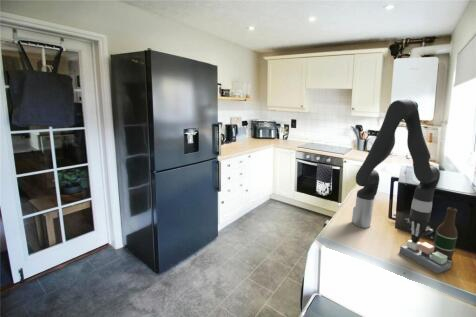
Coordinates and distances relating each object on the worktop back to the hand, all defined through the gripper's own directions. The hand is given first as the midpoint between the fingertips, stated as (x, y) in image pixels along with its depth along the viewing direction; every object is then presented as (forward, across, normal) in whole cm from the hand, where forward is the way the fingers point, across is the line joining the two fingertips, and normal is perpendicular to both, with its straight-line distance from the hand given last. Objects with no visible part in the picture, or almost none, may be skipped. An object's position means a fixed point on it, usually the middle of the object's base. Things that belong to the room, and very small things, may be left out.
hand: (414, 242), depth 122 cm
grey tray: (+6, +5, 0) cm, 8 cm away
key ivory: (+3, 0, 0) cm, 3 cm away
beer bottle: (+6, +6, +12) cm, 15 cm away
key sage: (+3, +11, 0) cm, 11 cm away
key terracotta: (+2, +5, 0) cm, 6 cm away
